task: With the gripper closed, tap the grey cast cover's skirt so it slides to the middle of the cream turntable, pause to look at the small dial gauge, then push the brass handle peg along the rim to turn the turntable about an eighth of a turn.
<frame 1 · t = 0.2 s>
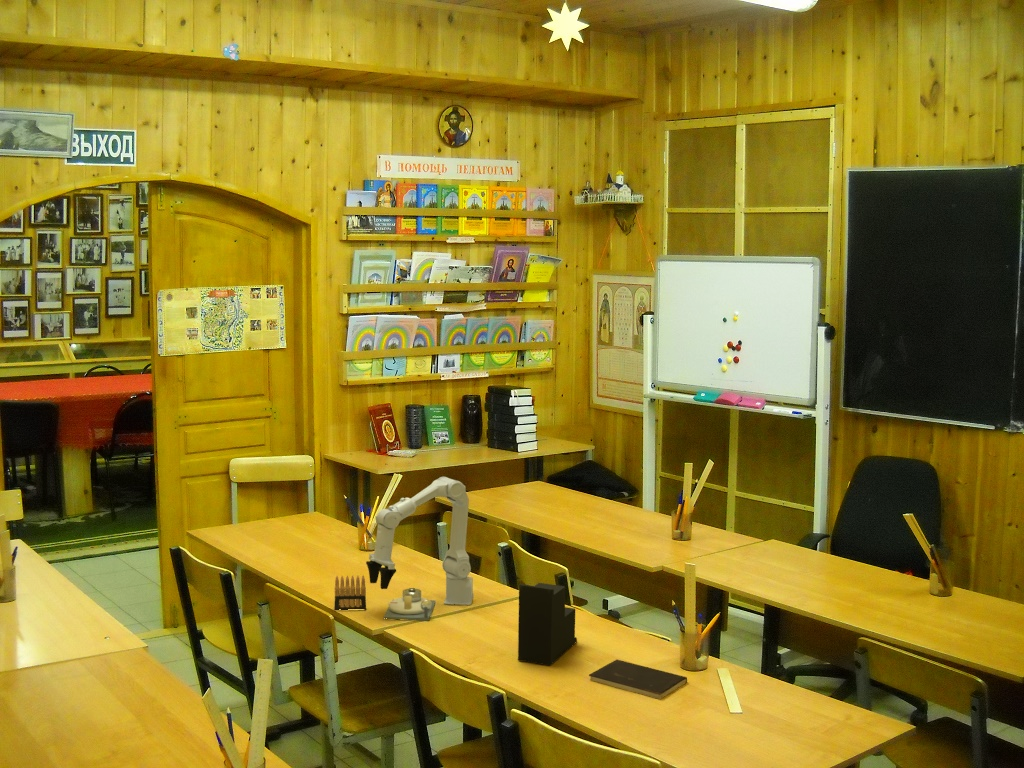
hand: (378, 585, 371), 11 cm above the table, tool pointing down, fingers open, 7 cm apart
base plate: (410, 611, 378), on the table
cover: (411, 599, 382), point 3 cm above the table, touching turntable
dial gauge: (426, 619, 369), on the table
ammunition clip: (350, 610, 379), on the table
hardcover book: (637, 683, 318), on the table
turntable: (410, 599, 378), point 4 cm above the table, hinge at 0.0°, touching cover
bookend: (548, 652, 341), on the table
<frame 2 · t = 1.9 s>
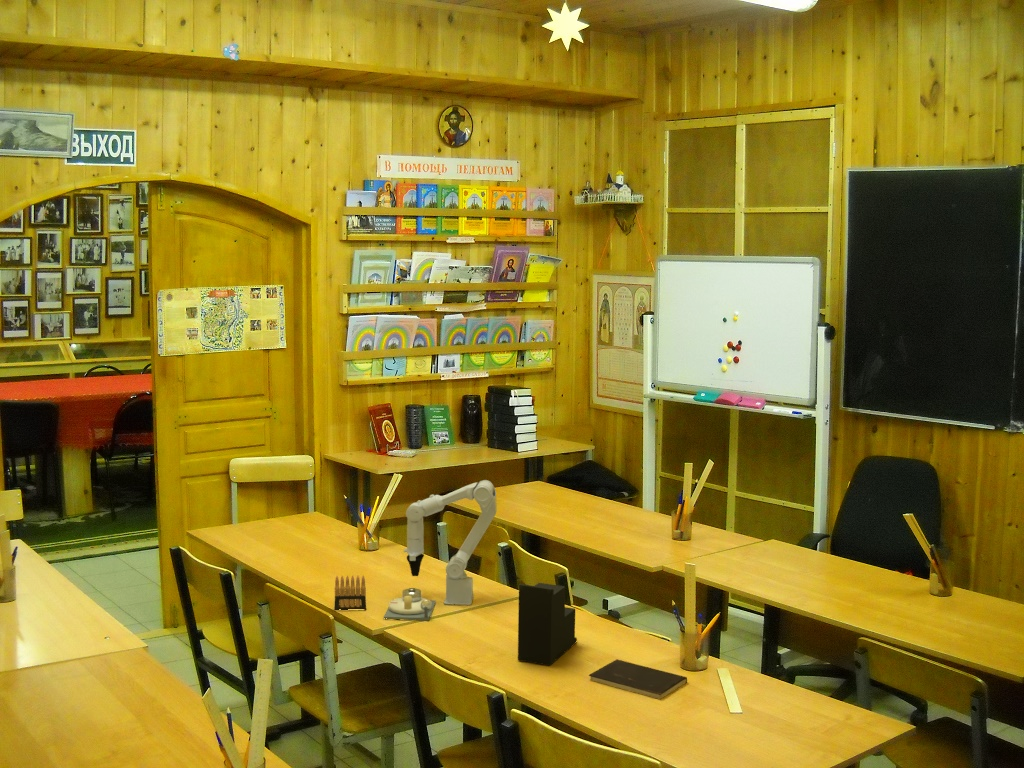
hand: (415, 575, 390), 9 cm above the table, tool pointing down, fingers closed
nothing on the table moved.
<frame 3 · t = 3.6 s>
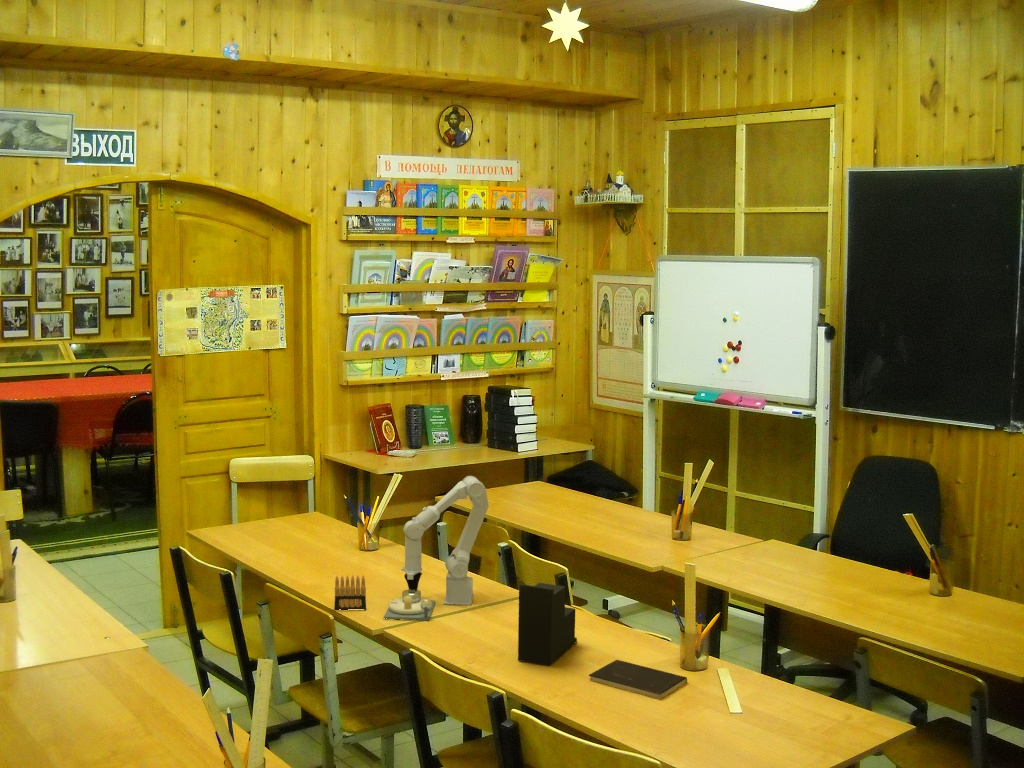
hand: (413, 594, 385), 4 cm above the table, tool pointing down, fingers closed
cover: (411, 600, 381), point 3 cm above the table, touching gripper
turntable: (410, 599, 378), point 4 cm above the table, hinge at 0.0°
everything else where it was.
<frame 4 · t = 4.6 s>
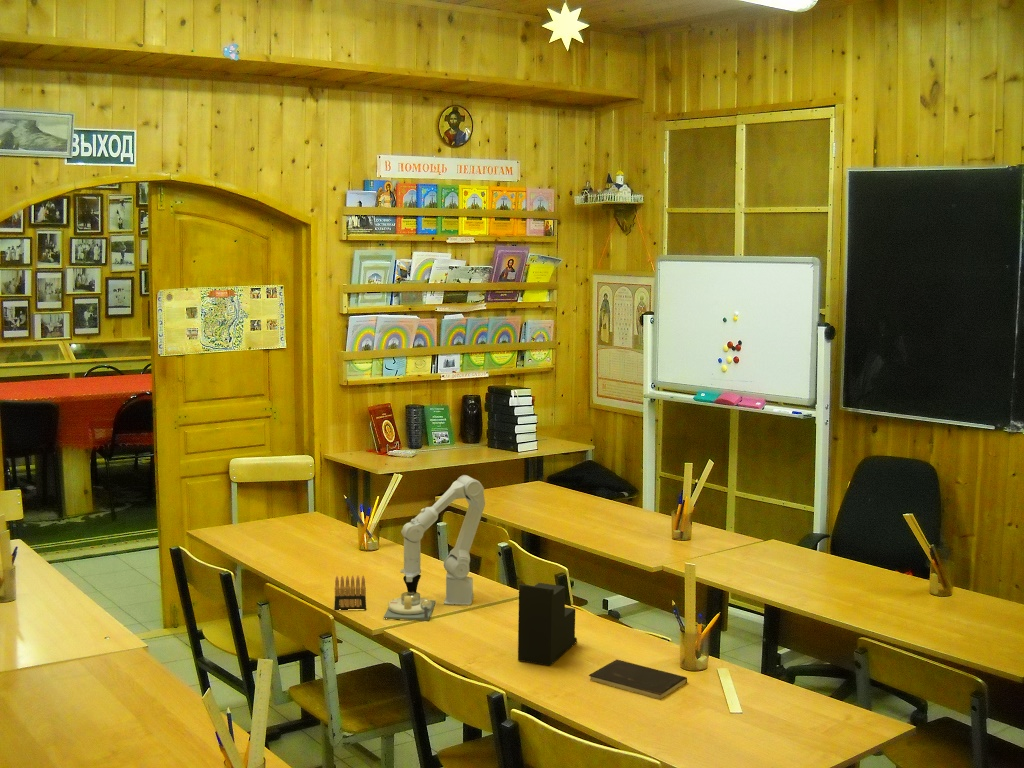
hand: (412, 596, 382), 4 cm above the table, tool pointing down, fingers closed
cover: (410, 603, 378), point 3 cm above the table, touching gripper, turntable
turntable: (410, 599, 378), point 4 cm above the table, hinge at 0.0°, touching cover
everything else where it was.
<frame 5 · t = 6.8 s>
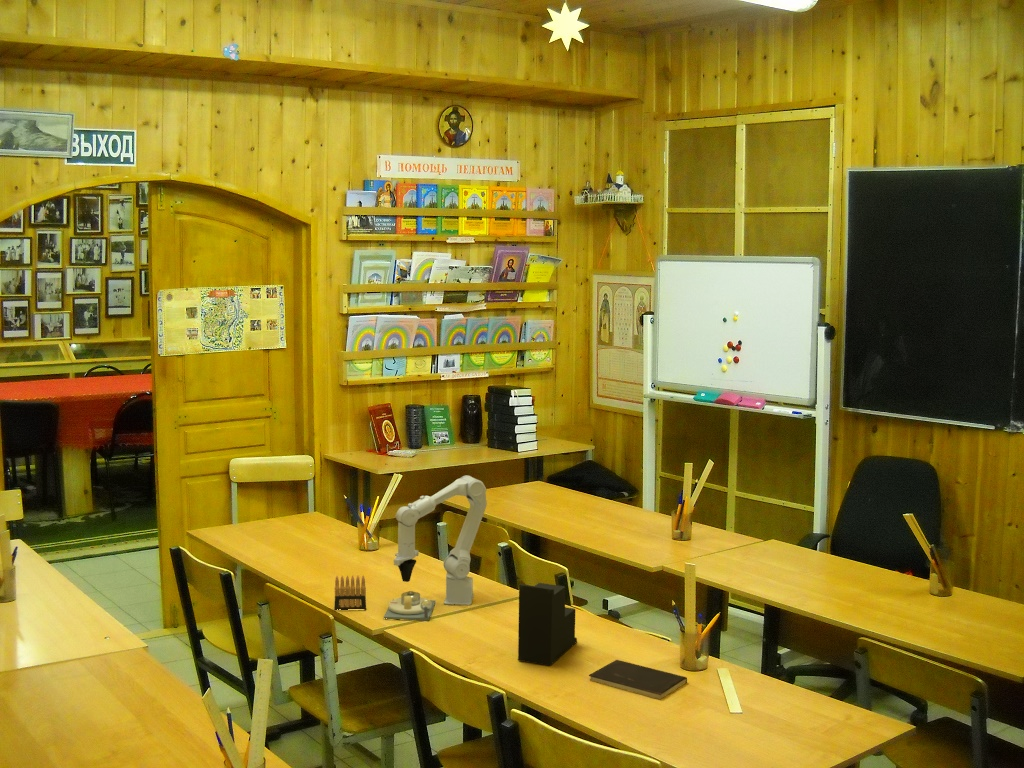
hand: (406, 581, 380), 10 cm above the table, tool pointing down, fingers closed
cover: (410, 603, 378), point 3 cm above the table, touching turntable
everything else where it was.
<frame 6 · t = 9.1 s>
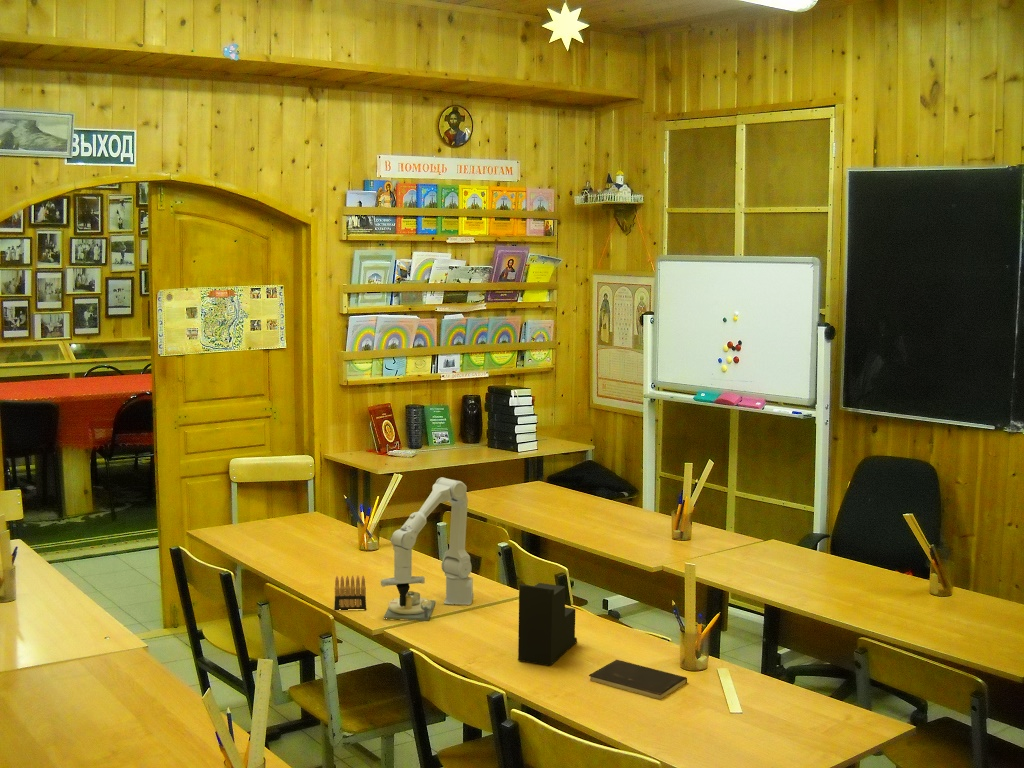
hand: (402, 605, 371), 4 cm above the table, tool pointing down, fingers closed, pressing on turntable
turntable: (410, 599, 378), point 4 cm above the table, hinge at 0.6°, touching cover, gripper
everything else where it was.
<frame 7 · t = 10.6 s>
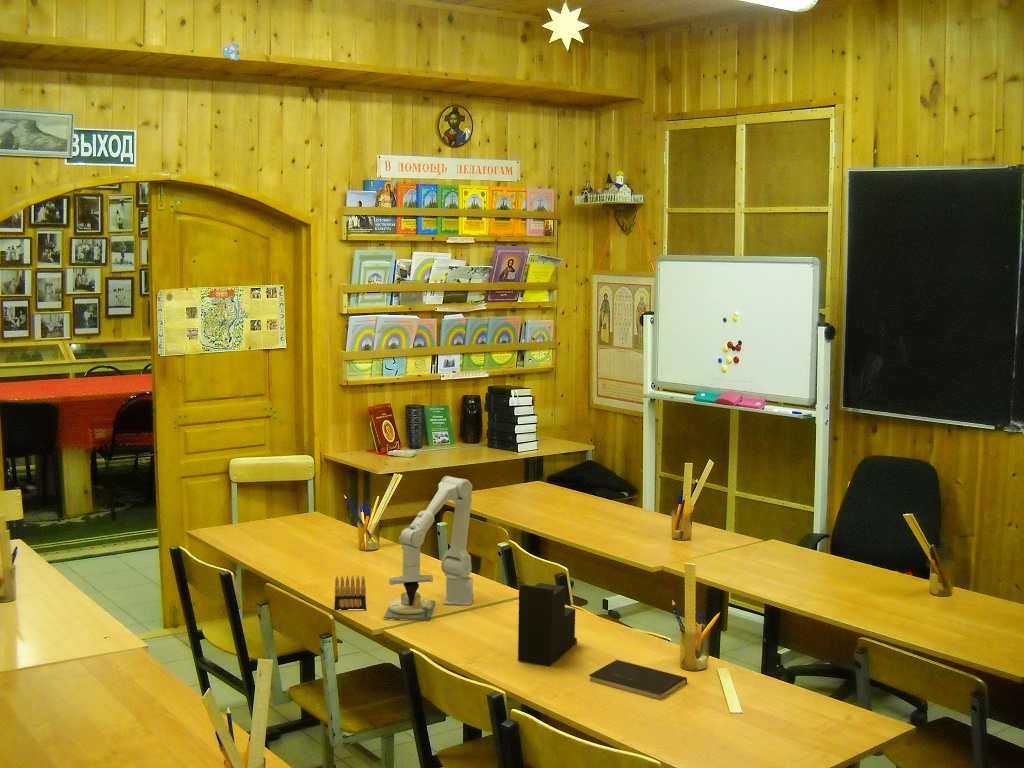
hand: (410, 604, 372), 4 cm above the table, tool pointing down, fingers closed, pressing on turntable
turntable: (410, 599, 378), point 4 cm above the table, hinge at 32.5°, touching cover, gripper
everything else where it was.
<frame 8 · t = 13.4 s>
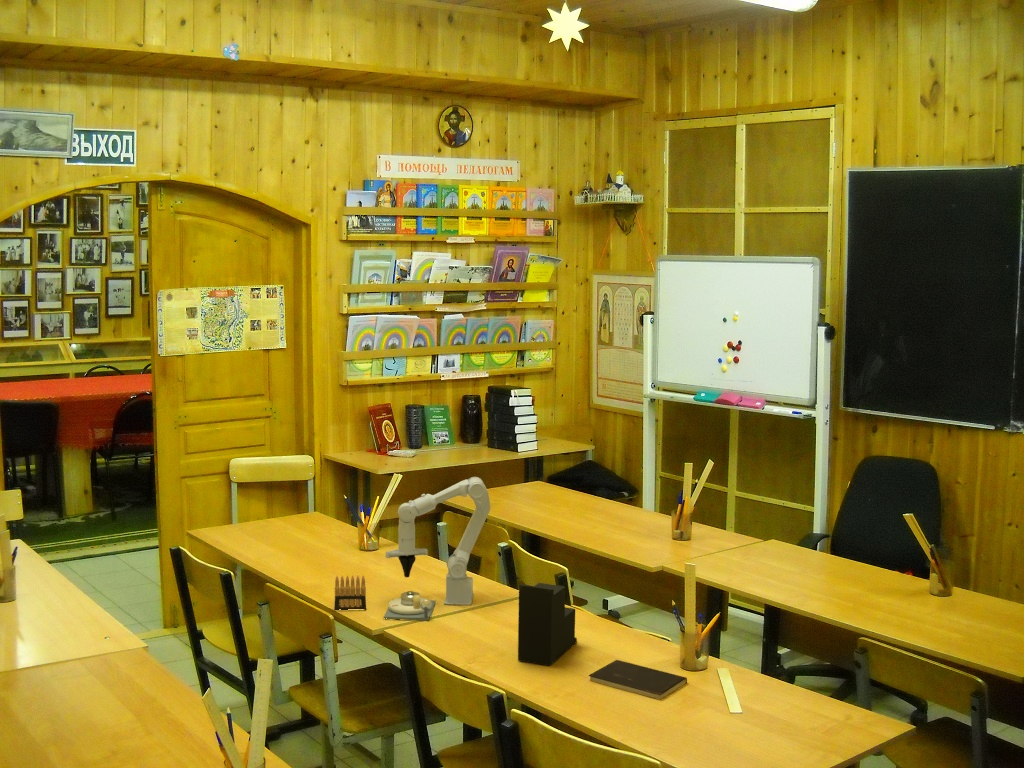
hand: (406, 576, 386), 9 cm above the table, tool pointing down, fingers closed
turntable: (410, 599, 378), point 4 cm above the table, hinge at 32.5°, touching cover
everything else where it was.
at the end: cover 0.2 cm from the turntable (horizontally); turntable at +32° (first picture: +0°); cover tilted 0° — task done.
